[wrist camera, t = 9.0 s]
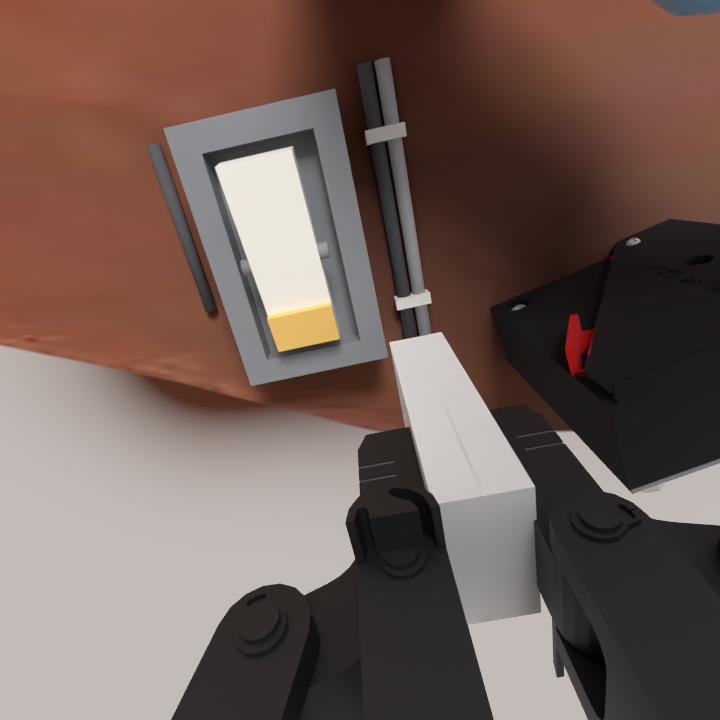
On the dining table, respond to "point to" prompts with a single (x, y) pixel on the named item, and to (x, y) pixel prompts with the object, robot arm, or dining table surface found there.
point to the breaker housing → (328, 213)
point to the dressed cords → (377, 140)
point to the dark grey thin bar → (181, 225)
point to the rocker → (281, 246)
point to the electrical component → (631, 352)
